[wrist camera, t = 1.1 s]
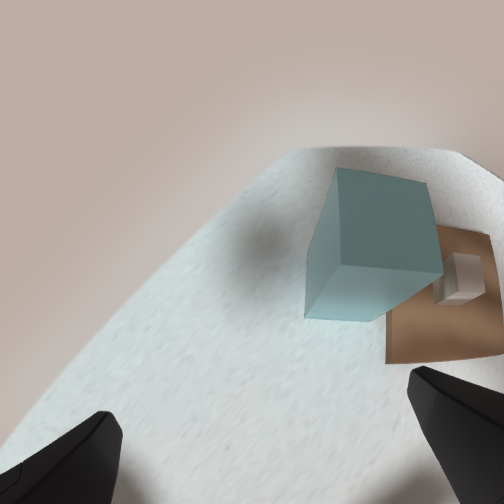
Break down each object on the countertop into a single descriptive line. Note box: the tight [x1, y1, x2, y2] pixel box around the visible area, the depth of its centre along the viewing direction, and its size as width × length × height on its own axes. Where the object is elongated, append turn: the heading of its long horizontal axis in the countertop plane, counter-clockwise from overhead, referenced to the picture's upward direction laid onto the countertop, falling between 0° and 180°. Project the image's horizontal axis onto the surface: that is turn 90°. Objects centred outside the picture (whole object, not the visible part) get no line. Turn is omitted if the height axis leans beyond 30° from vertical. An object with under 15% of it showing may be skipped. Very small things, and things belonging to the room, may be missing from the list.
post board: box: [385, 225, 504, 364], centre depth 20 cm, size 13×14×5 cm
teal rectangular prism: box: [304, 167, 444, 322], centre depth 18 cm, size 6×6×11 cm
